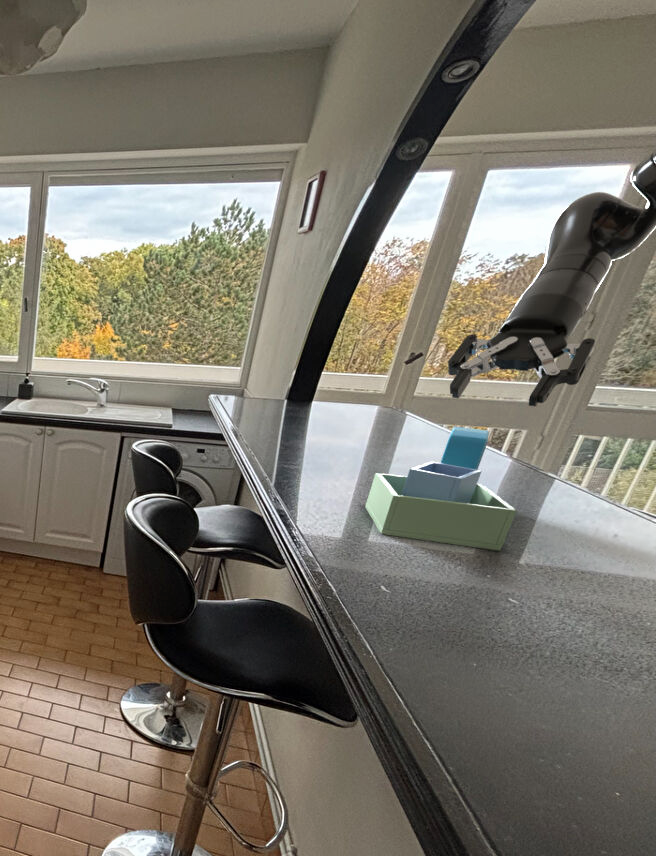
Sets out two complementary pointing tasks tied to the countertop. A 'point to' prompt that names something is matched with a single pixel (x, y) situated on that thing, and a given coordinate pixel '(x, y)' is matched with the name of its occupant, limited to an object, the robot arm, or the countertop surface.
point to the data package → (465, 447)
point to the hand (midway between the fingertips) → (492, 398)
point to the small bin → (441, 482)
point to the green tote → (439, 515)
